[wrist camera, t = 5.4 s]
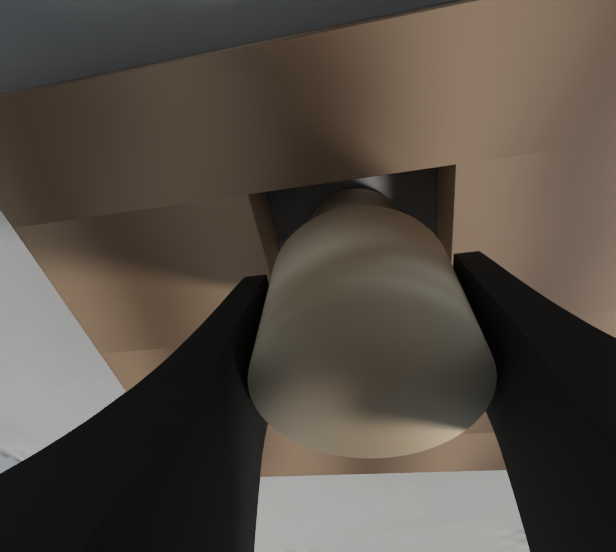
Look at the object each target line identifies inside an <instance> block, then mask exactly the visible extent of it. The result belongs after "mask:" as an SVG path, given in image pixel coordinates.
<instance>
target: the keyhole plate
mask: <svg viewBox="0 0 616 552" xmlns="http://www.w3.org/2000/svg"><path fill="white" fill-rule="evenodd" d="M435 167H438V192H437V238H438V239H439V240H440V242H441V243H442V245H443V247H444V249H445V250H446V253H447V255H448V257H449V259H450V262H451V264H452V266H453V257H454V254H456V253H465V252H474V251H480V252H482V253H483V254H485V255H486V256H487V257H489V258H490V259H492V260H493V261H494V262H496V263H497V264H498V265H500V266H501V267H503V268H504V269H505V270H507V271H508V272H510V273H511V274H512V275H514V276H515V277H517V278H518V279H519V280H521V281H522V282H524V283H525V284H527V285H528V286H530V287H531V288H532V289H534V290H535V291H537V292H538V293H540V294H541V295H543V296H544V297H546V298H548V299H549V300H551V301H552V302H554V303H555V304H557V305H559V306H560V307H562V308H563V309H565V310H567V311H568V312H570V313H572V314H574V315H575V316H577V317H579V318H580V319H582V320H584V321H585V322H587V323H589V324H590V325H592V326H594V327H596V328H598V329H600V330H601V331H603V332H605V333H607V334H609V335H611V336H613V337H615V338H616V0H458V1H454V2H449V3H444V4H439V5H434V6H429V7H424V8H420V9H415V10H410V11H405V12H400V13H395V14H390V15H386V16H381V17H376V18H371V19H366V20H361V21H356V22H352V23H347V24H342V25H337V26H332V27H327V28H322V29H318V30H313V31H308V32H303V33H298V34H293V35H288V36H284V37H279V38H274V39H269V40H264V41H259V42H254V43H250V44H245V45H240V46H235V47H230V48H225V49H220V50H216V51H211V52H206V53H201V54H196V55H191V56H186V57H182V58H177V59H172V60H167V61H162V62H157V63H152V64H148V65H143V66H138V67H133V68H128V69H123V70H118V71H114V72H109V73H104V74H99V75H94V76H89V77H84V78H80V79H75V80H70V81H65V82H60V83H55V84H50V85H46V86H41V87H36V88H31V89H26V90H21V91H16V92H12V93H7V94H2V95H0V210H1V211H2V213H3V214H4V215H5V217H6V218H7V220H8V221H9V223H10V224H11V226H12V227H13V228H14V230H15V231H16V233H17V234H18V236H19V237H20V239H21V240H22V241H23V243H24V244H25V246H26V247H27V249H28V250H29V252H30V253H31V254H32V256H33V257H34V259H35V260H36V262H37V263H38V265H39V266H40V268H41V269H42V270H43V272H44V273H45V275H46V276H47V278H48V279H49V281H50V282H51V283H52V285H53V286H54V288H55V289H56V291H57V292H58V294H59V295H60V296H61V298H62V299H63V301H64V302H65V304H66V305H67V307H68V308H69V309H70V311H71V312H72V314H73V315H74V317H75V318H76V320H77V321H78V322H79V324H80V325H81V327H82V328H83V330H84V331H85V333H86V334H87V335H88V337H89V338H90V340H91V341H92V343H93V344H94V346H95V347H96V348H97V350H98V351H99V353H100V354H101V356H102V357H103V359H104V360H105V361H106V363H107V364H108V366H109V367H110V369H111V370H112V372H113V373H114V374H115V376H116V377H117V379H118V380H119V382H120V383H121V385H122V386H123V387H124V389H125V390H126V392H127V391H128V390H130V389H131V388H132V387H134V386H135V385H136V384H137V383H139V382H140V381H141V380H142V379H143V378H145V377H146V376H147V375H148V374H149V373H151V372H152V371H153V370H154V369H155V368H157V367H158V366H159V365H160V364H161V363H162V362H163V361H165V360H166V359H167V358H168V357H169V356H170V355H171V354H172V353H173V352H174V351H175V350H176V349H177V348H178V347H179V346H180V345H181V344H182V343H183V342H184V341H185V340H186V339H187V338H188V337H189V336H190V335H191V334H192V333H193V332H194V331H195V330H196V329H197V328H198V327H199V326H200V325H201V324H202V323H203V322H204V321H205V320H206V319H207V318H208V317H209V316H210V315H211V313H212V312H213V311H214V310H215V309H216V308H217V307H218V306H219V305H220V304H221V303H222V301H223V300H224V299H225V298H226V297H227V296H228V295H229V293H230V292H231V291H232V290H233V289H234V288H235V287H236V286H237V285H238V283H239V282H240V281H241V280H242V279H243V278H244V277H247V276H257V275H267V278H268V282H269V283H270V279H271V275H272V271H273V267H274V264H275V261H276V257H277V255H278V253H279V251H280V246H279V242H278V238H277V234H276V230H275V226H274V222H273V218H272V214H271V211H270V207H269V203H268V199H267V195H266V192H268V191H275V190H282V189H289V188H296V187H303V186H310V185H317V184H324V183H330V182H337V181H344V180H351V179H358V178H365V177H372V176H379V175H386V174H393V173H400V172H407V171H414V170H421V169H428V168H435ZM483 470H507V469H506V466H505V463H504V460H503V456H502V453H501V450H500V447H499V444H498V441H497V438H496V436H495V433H494V430H493V428H492V425H491V423H490V420H489V418H488V416H487V413H486V411H485V412H484V413H483V414H482V416H481V417H480V418H479V419H478V420H477V421H476V422H475V423H474V424H473V425H472V426H471V427H469V428H468V429H467V430H465V431H464V432H463V433H461V434H460V435H458V436H456V437H455V438H453V439H451V440H449V441H447V442H445V443H443V444H441V445H439V446H436V447H433V448H431V449H428V450H424V451H421V452H417V453H414V454H409V455H404V456H397V457H390V458H351V457H343V456H337V455H332V454H327V453H323V452H320V451H317V450H313V449H310V448H308V447H305V446H303V445H300V444H298V443H296V442H294V441H292V440H290V439H288V438H287V437H285V436H284V435H282V434H281V433H279V432H278V431H276V430H275V429H274V428H273V427H272V426H270V425H269V424H268V426H267V431H266V436H265V441H264V448H263V454H262V463H261V473H260V477H268V476H304V475H340V474H376V473H412V472H447V471H483Z"/></svg>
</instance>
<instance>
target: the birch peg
mask: <svg viewBox="0 0 616 552" xmlns="http://www.w3.org/2000/svg"><path fill="white" fill-rule="evenodd" d="M496 382H497V372H496V365H495V362H494V359H493V356H492V353H491V351H490V349H489V347H488V344H487V342H486V340H485V338H484V335H483V333H482V331H481V329H480V326H479V324H478V322H477V320H476V318H475V315H474V313H473V311H472V309H471V306H470V304H469V302H468V300H467V297H466V295H465V293H464V291H463V288H462V286H461V284H460V282H459V279H458V277H457V275H456V273H455V270H454V268H453V266H452V264H451V262H450V259H449V257H448V255H447V253H446V250H445V249H444V247H443V245H442V243H441V242H440V240H439V239H438V238H437V237H436V235H435V234H434V233H433V232H432V231H431V230H430V229H429V228H428V227H427V226H425V225H424V224H423V223H421V222H420V221H418V220H417V219H415V218H413V217H411V216H409V215H407V214H405V213H402V212H399V210H398V209H397V207H396V206H395V205H394V203H393V202H392V201H390V200H389V199H388V198H387V197H385V196H384V195H382V194H380V193H378V192H375V191H372V190H368V189H359V188H356V189H347V190H343V191H340V192H337V193H335V194H333V195H331V196H329V197H328V198H326V199H325V200H324V201H322V202H321V203H320V204H319V205H318V206H317V208H316V209H315V211H314V212H313V214H312V216H311V218H310V221H308V222H306V223H305V224H303V225H302V226H301V227H300V228H298V229H297V230H296V231H295V232H294V233H293V234H292V235H291V236H290V237H289V238H288V239H287V240H286V242H285V243H284V245H283V246H282V248H281V249H280V251H279V253H278V255H277V257H276V261H275V264H274V267H273V271H272V275H271V279H270V283H269V287H268V292H267V296H266V300H265V304H264V308H263V312H262V316H261V320H260V324H259V328H258V333H257V337H256V341H255V345H254V349H253V353H252V357H251V361H250V365H249V371H248V389H249V393H250V396H251V399H252V401H253V404H254V406H255V408H256V409H257V411H258V412H259V413H260V415H261V416H262V417H263V418H264V420H265V421H266V422H267V423H268V424H269V425H270V426H272V427H273V428H274V429H275V430H276V431H278V432H279V433H281V434H282V435H284V436H285V437H287V438H288V439H290V440H292V441H294V442H296V443H298V444H300V445H303V446H305V447H308V448H310V449H313V450H317V451H320V452H323V453H327V454H332V455H337V456H343V457H351V458H390V457H397V456H404V455H409V454H414V453H417V452H421V451H424V450H428V449H431V448H433V447H436V446H439V445H441V444H443V443H445V442H447V441H449V440H451V439H453V438H455V437H456V436H458V435H460V434H461V433H463V432H464V431H465V430H467V429H468V428H469V427H471V426H472V425H473V424H474V423H475V422H476V421H477V420H478V419H479V418H480V417H481V416H482V414H483V413H484V412H485V410H486V409H487V408H488V406H489V404H490V402H491V400H492V398H493V395H494V392H495V389H496Z"/></svg>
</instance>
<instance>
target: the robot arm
mask: <svg viewBox="0 0 616 552" xmlns="http://www.w3.org/2000/svg"><path fill="white" fill-rule="evenodd" d="M453 268H454V270H455V273H456V275H457V277H458V279H459V282H460V284H461V286H462V288H463V291H464V293H465V295H466V297H467V300H468V302H469V304H470V306H471V309H472V311H473V313H474V315H475V318H476V320H477V322H478V324H479V326H480V329H481V331H482V333H483V335H484V338H485V340H486V342H487V344H488V347H489V349H490V351H491V353H492V356H493V359H494V362H495V365H496V372H497V382H496V389H495V392H494V395H493V398H492V400H491V402H490V404H489V406H488V408H487V409H486V410H485V411H486V413H487V416H488V418H489V420H490V423H491V425H492V428H493V430H494V433H495V436H496V438H497V441H498V444H499V447H500V450H501V453H502V456H503V460H504V463H505V466H506V469H507V473H508V476H509V479H510V482H511V486H512V489H513V492H514V496H515V499H516V503H517V506H518V510H519V513H520V517H521V520H522V523H523V527H524V530H525V534H526V538H527V541H528V545H529V549H530V552H616V338H615V337H613V336H611V335H609V334H607V333H605V332H603V331H601V330H600V329H598V328H596V327H594V326H592V325H590V324H589V323H587V322H585V321H584V320H582V319H580V318H579V317H577V316H575V315H574V314H572V313H570V312H568V311H567V310H565V309H563V308H562V307H560V306H559V305H557V304H555V303H554V302H552V301H551V300H549V299H548V298H546V297H544V296H543V295H541V294H540V293H538V292H537V291H535V290H534V289H532V288H531V287H530V286H528V285H527V284H525V283H524V282H522V281H521V280H519V279H518V278H517V277H515V276H514V275H512V274H511V273H510V272H508V271H507V270H505V269H504V268H503V267H501V266H500V265H498V264H497V263H496V262H494V261H493V260H492V259H490V258H489V257H487V256H486V255H485V254H483V253H482V252H480V251H474V252H465V253H456V254H454V257H453ZM268 287H269V282H268V278H267V275H257V276H247V277H244V278H243V279H242V280H241V281H240V282H239V283H238V285H237V286H236V287H235V288H234V289H233V290H232V291H231V292H230V293H229V295H228V296H227V297H226V298H225V299H224V300H223V301H222V303H221V304H220V305H219V306H218V307H217V308H216V309H215V310H214V311H213V312H212V313H211V315H210V316H209V317H208V318H207V319H206V320H205V321H204V322H203V323H202V324H201V325H200V326H199V327H198V328H197V329H196V330H195V331H194V332H193V333H192V334H191V335H190V336H189V337H188V338H187V339H186V340H185V341H184V342H183V343H182V344H181V345H180V346H179V347H178V348H177V349H176V350H175V351H174V352H173V353H172V354H171V355H170V356H169V357H168V358H167V359H166V360H165V361H163V362H162V363H161V364H160V365H159V366H158V367H157V368H155V369H154V370H153V371H152V372H151V373H149V374H148V375H147V376H146V377H145V378H143V379H142V380H141V381H140V382H139V383H137V384H136V385H135V386H134V387H132V388H131V389H130V390H128V391H127V392H126V393H124V394H123V395H122V396H120V397H119V398H117V399H116V400H115V401H113V402H112V403H111V404H109V405H108V406H107V407H105V408H104V409H103V410H101V411H100V412H99V413H97V414H96V415H94V416H93V417H92V418H90V419H89V420H87V421H86V422H84V423H83V424H81V425H80V426H78V427H77V428H75V429H74V430H72V431H71V432H69V433H68V434H66V435H64V436H63V437H61V438H60V439H58V440H56V441H55V442H53V443H52V444H50V445H49V446H47V447H45V448H44V449H42V450H40V451H39V452H37V453H36V454H34V455H32V456H31V457H29V458H27V459H25V460H24V461H22V462H20V463H18V464H17V465H15V466H13V467H11V468H10V469H8V470H6V471H4V472H3V473H1V474H0V552H254V543H255V529H256V517H257V505H258V493H259V483H260V473H261V463H262V454H263V448H264V441H265V436H266V431H267V426H268V423H267V422H266V421H265V420H264V418H263V417H262V416H261V415H260V413H259V412H258V411H257V409H256V408H255V406H254V404H253V401H252V399H251V396H250V393H249V389H248V371H249V365H250V361H251V357H252V353H253V349H254V345H255V341H256V337H257V333H258V328H259V324H260V320H261V316H262V312H263V308H264V304H265V300H266V296H267V292H268Z"/></svg>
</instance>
